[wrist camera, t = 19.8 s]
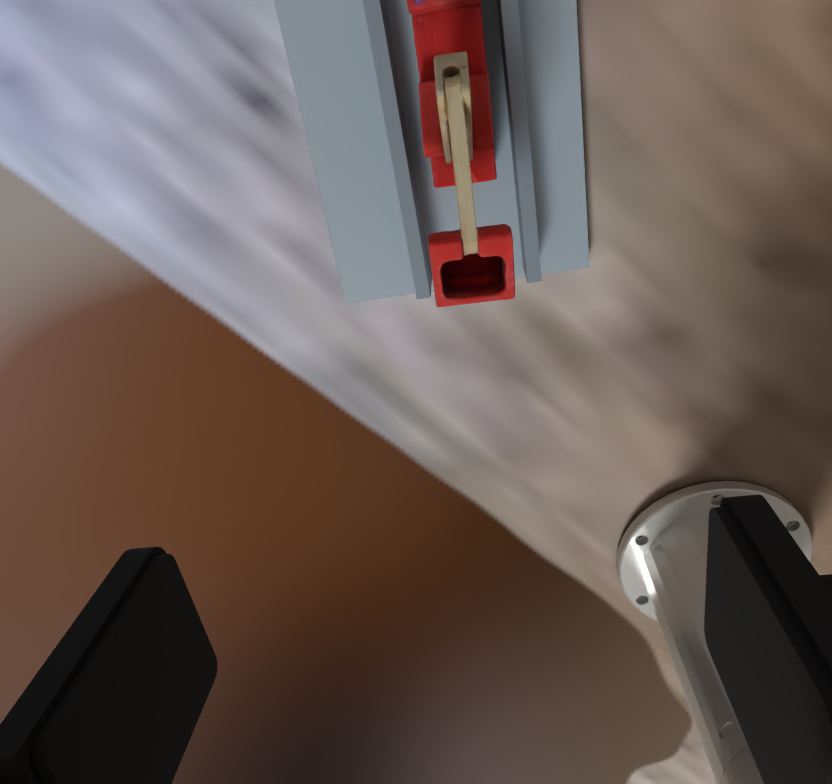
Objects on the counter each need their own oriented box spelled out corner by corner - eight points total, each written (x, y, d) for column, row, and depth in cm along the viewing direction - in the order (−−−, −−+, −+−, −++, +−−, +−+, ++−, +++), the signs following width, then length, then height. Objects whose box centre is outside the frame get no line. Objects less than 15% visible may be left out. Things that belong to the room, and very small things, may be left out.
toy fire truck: (476, -69, 28) (485, -124, 19) (501, 242, 34) (518, 306, 25) (400, -55, 28) (376, -102, 19) (439, 251, 34) (434, 316, 26)
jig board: (586, 261, 35) (598, 282, 32) (348, 297, 37) (338, 320, 34) (556, -317, 25) (571, -371, 21) (225, -230, 26) (195, -267, 23)
